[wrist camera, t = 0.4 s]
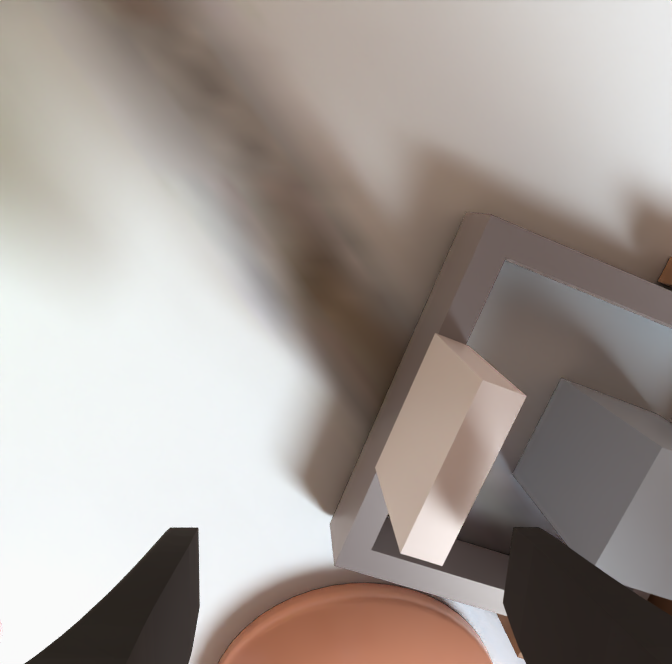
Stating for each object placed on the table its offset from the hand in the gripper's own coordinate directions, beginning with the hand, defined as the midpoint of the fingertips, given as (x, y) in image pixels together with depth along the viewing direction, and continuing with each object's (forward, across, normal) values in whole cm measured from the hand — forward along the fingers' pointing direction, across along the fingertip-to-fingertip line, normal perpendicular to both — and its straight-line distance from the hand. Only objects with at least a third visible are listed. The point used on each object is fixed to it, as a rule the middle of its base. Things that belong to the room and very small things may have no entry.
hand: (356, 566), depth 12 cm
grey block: (+9, -10, +1) cm, 14 cm away
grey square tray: (+8, -8, 0) cm, 12 cm away
